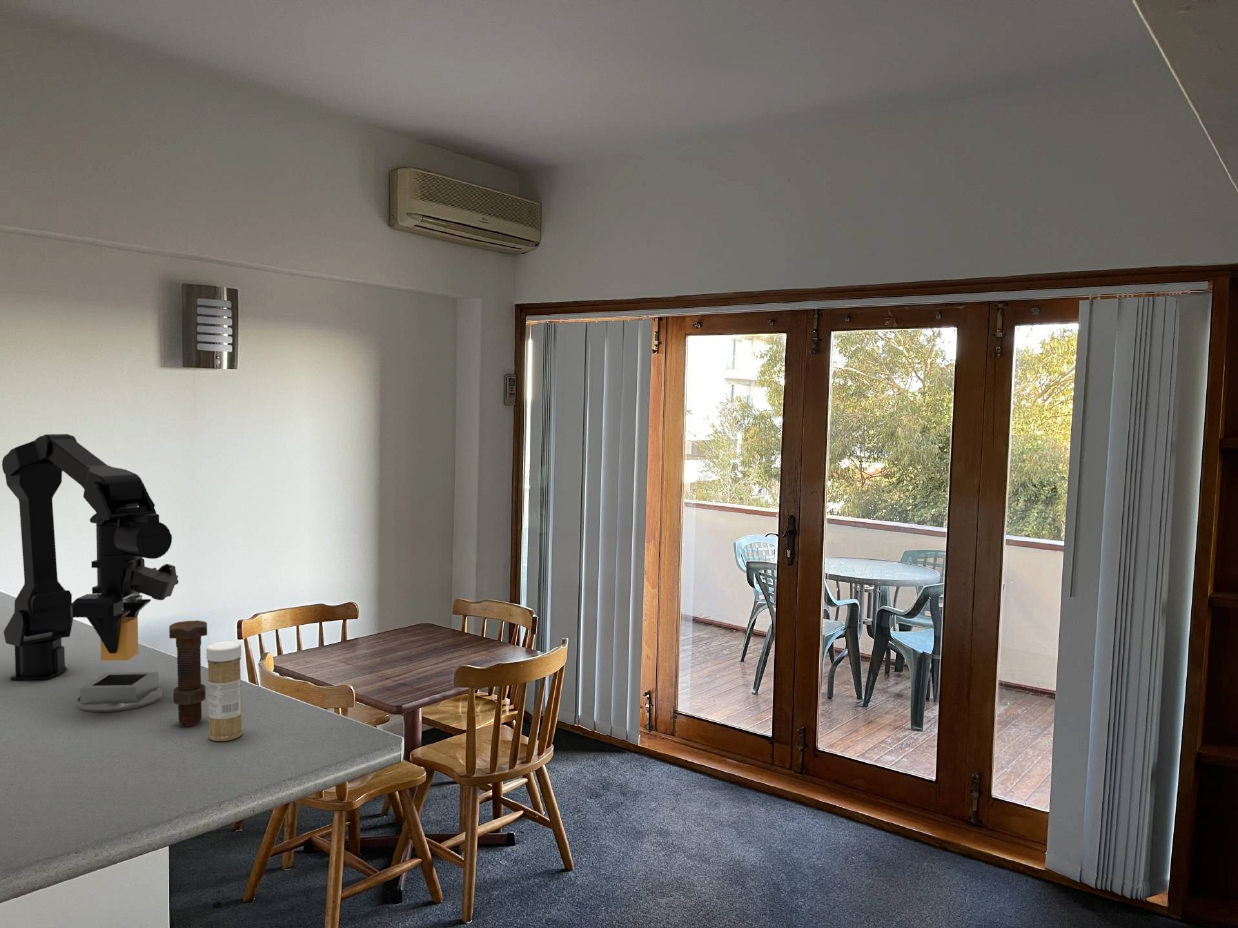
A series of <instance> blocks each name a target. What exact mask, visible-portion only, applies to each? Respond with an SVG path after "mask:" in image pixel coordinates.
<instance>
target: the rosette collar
mask: <svg viewBox="0 0 1238 928" xmlns="http://www.w3.org/2000/svg"><path fill="white" fill-rule="evenodd" d="M162 697H163V689H162V688H161V687H160V686H159V672H158V671H147V672H145V671H144V672H143V671H142V672H141V671H140V672H139V671H137V672H135V671H133V672H127V671H126V672H104V673H102V674H101V675H99V676H97V677H95V678H94V679H93V680H91V681H89V682H87V683H86V684H84V685H83V686H80V688H79V697H78V698H77V701H76V702H77V703H76V704H77V708H78V709H79V710H80V711H82V712H83V711H84V712H89V713H115V712H116V713H117V712H123V711H124V712H125V711H131V710H135V709H138V708H143V707H146V706H149V705H153V704H154V703H157V702H158V701H160V700H161V699H162Z"/></svg>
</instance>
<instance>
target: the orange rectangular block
mask: <svg viewBox="0 0 1238 928" xmlns="http://www.w3.org/2000/svg"><path fill="white" fill-rule="evenodd" d="M138 618H139V617H124V618H123V619H122V621H121V628H120V636H119V644H118V650H117V653H109V652H108V650H107V649H106V647H105V645H104V644H103V642H102V640H101V639H100V661H102V662H103V661H104V662H105V661H106V662H107V661H110V662H111V661H129V660H131V659H132V658H133V657H135V656H137V655H138V654H139V622H138V621H139V619H138Z"/></svg>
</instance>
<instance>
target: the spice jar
mask: <svg viewBox="0 0 1238 928" xmlns="http://www.w3.org/2000/svg"><path fill="white" fill-rule="evenodd" d="M241 656H242V644H241V643H240V642H238V641H232V640H231V641H230V640H229V641H219V642H214V643H210V644H208V646H207V647H206V660H207V661H206V663H207V665H208V666H207V673H208V674H207V676H208V679H207V692H208V693H207V695H208V698H207V701H208V720H209V721H208V722H209V723H208V726H209V733H208V739H210V740H212V741H214V742H227V741H228V742H229V741H233V740H236V739H237V738H240V737H241V736H242V735H243V729H242V710H243V709H242V708H243V707H242V706H243V705H242V698H243V697H242V680H241V674H242V673H241V659H242V657H241Z"/></svg>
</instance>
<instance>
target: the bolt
mask: <svg viewBox="0 0 1238 928" xmlns="http://www.w3.org/2000/svg"><path fill="white" fill-rule="evenodd" d="M168 631H169V632H168V633H169V639H175V647H176V655H177V656H176V657H177V658H176V662H177V663H176V664H177V665H176V666H177V667H176V668H177V674H176V675H177V686H176V687H175V688H173V690H172V691H173V692H172V696H173V697H172V698H173V703H174V704H176V705H177V706H178V707H177V709H178V710H177V711H178V715H177V716H178V717H177V720H178V723H179V725H180V726H181V727H183V726H186V727H187V728H188V727H193V726H195V725H197V724H199V723H200V722H201V721H202V715H203V714H202V702H204V701H205V700H206V685H204V684H202V675H201V673H202V671H201V670H202V669H201V667H202V664H201V663H202V661H201V660H202V659H201V657H202V656H201V654H202V653H201V652H202V650H201V646H202V637H205V636H208V622H206V621H203V620H186V621H185V620H184V621H178V622H175V623H172V624H170V625H169V630H168Z"/></svg>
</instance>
